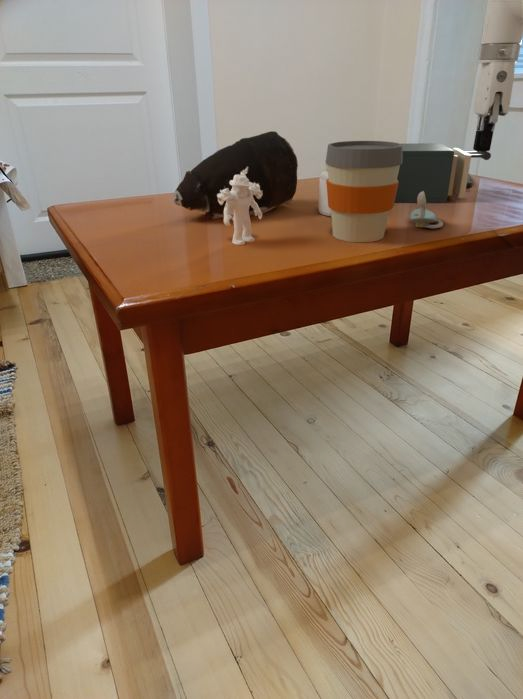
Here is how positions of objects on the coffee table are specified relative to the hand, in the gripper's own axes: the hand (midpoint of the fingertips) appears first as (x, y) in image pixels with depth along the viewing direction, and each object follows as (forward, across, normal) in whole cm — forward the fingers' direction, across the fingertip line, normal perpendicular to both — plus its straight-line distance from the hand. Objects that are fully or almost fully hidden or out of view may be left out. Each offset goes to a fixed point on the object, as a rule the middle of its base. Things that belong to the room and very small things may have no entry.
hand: (481, 150), depth 112 cm
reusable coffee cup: (+10, -34, +28) cm, 45 cm away
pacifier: (+10, -27, +15) cm, 33 cm away
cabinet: (+10, 0, +15) cm, 18 cm away
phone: (+10, +18, 0) cm, 21 cm away
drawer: (+9, 0, +8) cm, 12 cm away
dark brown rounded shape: (+11, -18, +53) cm, 57 cm away
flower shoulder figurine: (+10, -39, +48) cm, 63 cm away
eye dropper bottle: (+10, -18, +33) cm, 39 cm away
